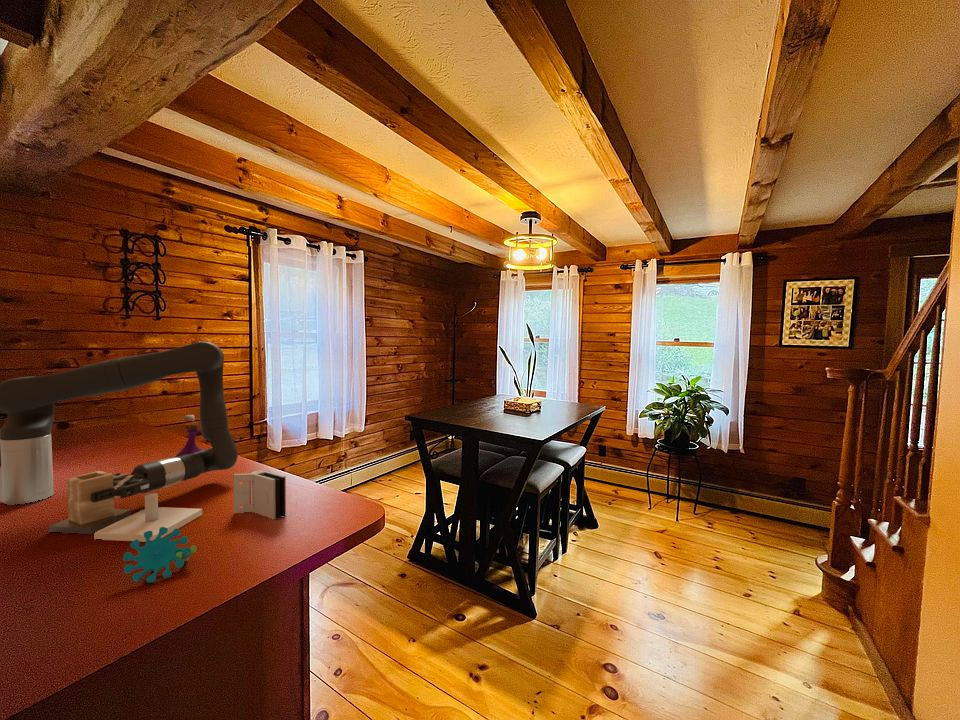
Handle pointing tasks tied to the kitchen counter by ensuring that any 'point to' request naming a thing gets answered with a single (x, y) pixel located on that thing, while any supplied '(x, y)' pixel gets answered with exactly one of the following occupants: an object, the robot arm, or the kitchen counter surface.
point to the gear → (158, 554)
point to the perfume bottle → (190, 438)
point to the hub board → (148, 522)
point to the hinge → (260, 493)
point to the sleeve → (89, 497)
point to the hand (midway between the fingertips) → (81, 495)
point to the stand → (91, 527)
